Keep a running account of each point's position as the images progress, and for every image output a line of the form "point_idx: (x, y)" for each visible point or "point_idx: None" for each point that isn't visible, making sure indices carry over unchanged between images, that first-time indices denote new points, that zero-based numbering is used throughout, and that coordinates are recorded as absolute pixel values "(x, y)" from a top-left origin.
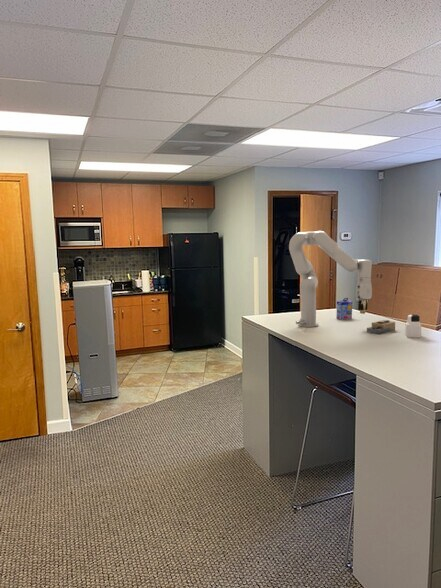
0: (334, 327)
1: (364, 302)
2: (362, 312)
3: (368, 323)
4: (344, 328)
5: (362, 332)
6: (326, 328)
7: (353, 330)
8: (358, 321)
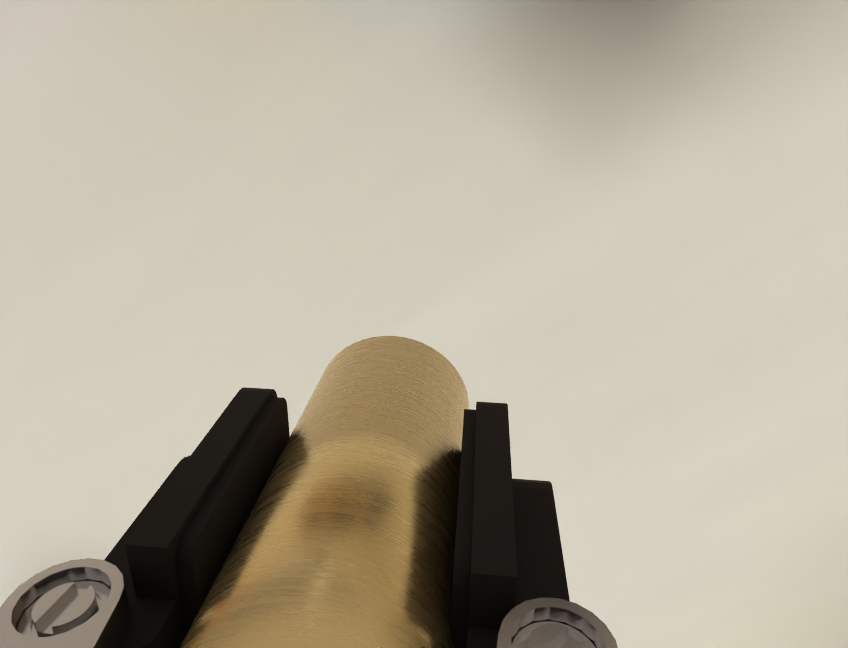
0: (683, 550)
1: (354, 635)
2: (454, 385)
3: (68, 389)
4: (655, 427)
5: (780, 15)
6: (819, 583)
7: (710, 246)
8: (93, 546)
